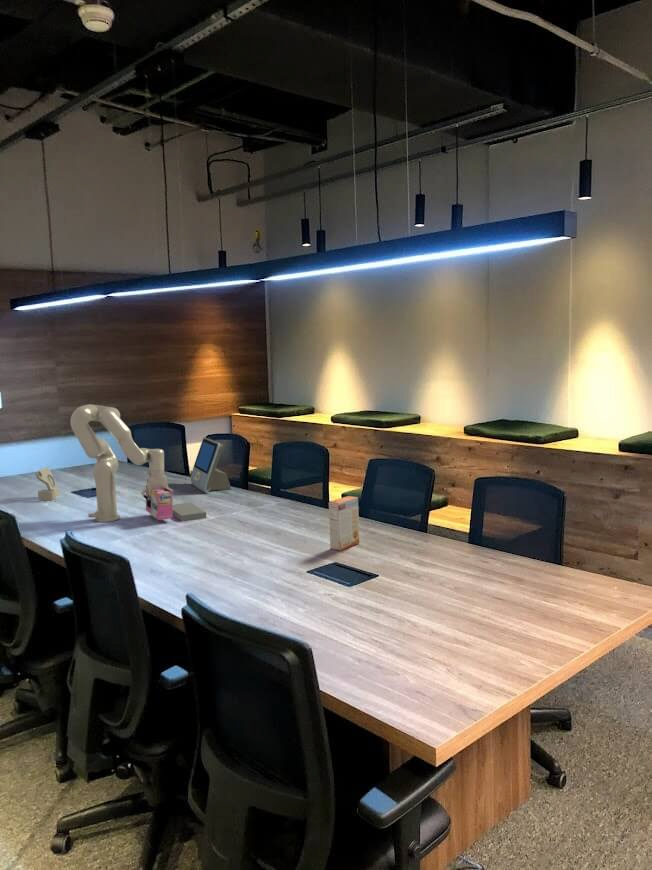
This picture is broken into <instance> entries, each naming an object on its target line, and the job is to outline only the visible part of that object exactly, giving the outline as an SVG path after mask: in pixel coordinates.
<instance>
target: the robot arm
mask: <svg viewBox="0 0 652 870" xmlns="http://www.w3.org/2000/svg"><path fill="white" fill-rule="evenodd" d="M91 421H92V422H99V423H101V425H103V427H104V428H105V429H106V430H107V431H108V432H109V434H111V436H112V437H113V438H114V439H115V440H116V441H117V444H118V445H119V448H120V449H121V451H122V452H123V453H124V455H125V456H126V457H127V458H128V459H129V461H130V462H131V463H132V464H134V465H136V466H142V465H144V464H146V463H148V465H149V467H148V468H149V470H148V471H146V475H148V476H147V481H146V485H147V488H146V487H145V488H144V489H143V490H142V491H141V492H140V495H142V497H143V498H144V499H145V500H146V499H147V506H148V507H149V508H151V501H150V496H151V489H152V490H166V489H168V490H170V491H171V492H172V494H173V493H174V489H173V488H171V487H169V485H168V479H167V478H168V477H167V475H166V474H165V451H164V449H161V448H146V447H139V446H138V445H137V444H136V443H135V441H134V439H133V436H132V431H131V429H130V428H129V426H127V425H126V423H125V422H124V421H123V420H122V418H121V413H120V411H119V410H118V408H116V407H112V406H106V405H97V404H91V403H89V404H85V405H84V404H83V405H81V406H78V407H77V408H76V409H75V410H74V411H73V412H72V415H71V416H70V427H71V430H72V432H73V433H74V435H75V436H76V438H77V440H78V442H79V444H80V446H81V448H82V450H83V451H84V453H85V455H86V456H87V457H88V458H90V459H94V460H95V459H96V463H94V466H93V475H94V482H95V493H96V507H97V510H96V511H95V512H93V513H88V514H87V515H88V518H94V520H95V522H100V523H106V522H107V523H108V522H109V523H110V522H115V521H119V520H120V519H121V515H120V514H118V508H117V507H118V506H117V504H118V503H117V491H116V481H115V476H114V474H115V473H116V472H117V471H118V470H119V467H120V466H119V461H118V459H117V457H116V455H115V453H114V452H113V449H112V448H111V446H110V445H109V443H108V441H106V440H105V439H103V438H102V437H97V435H96V434H95V432H94V430H93V429H92V427H91V426H90V425H89V423H90V422H91ZM146 492H147V494H148V495H147V496H146Z"/></svg>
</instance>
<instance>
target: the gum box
mask: <svg viewBox="0 0 652 870" xmlns="http://www.w3.org/2000/svg"><path fill="white" fill-rule="evenodd" d="M146 488H147V484H146V485H145V489H146ZM145 495H146V496H147V495H148V494H147V492H145ZM150 501H151V508H149V507H148V506H147V499H145V511H147V513H149V514H150V515H151V516H152V517H153V518H154V519H156V520H157V521H159V520H160V521H161V520H171V519H173V517H174V515H173V505H174V504H173V493H172V492H171V491H170V490H168V489H166V490H152V489H151V496H150Z"/></svg>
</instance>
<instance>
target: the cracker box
mask: <svg viewBox="0 0 652 870" xmlns="http://www.w3.org/2000/svg"><path fill="white" fill-rule="evenodd" d="M328 516H329V518H328V521H329V523H328V524H329V541H330V542H329V545H330V550H335V551H338V552H339V551H341V552H342V551H343V550H346V549H348V548H350V547H353V546H356V545H359V544H360V520H359V519H360V518H359V517H360V516H359V497H357V496H352V495H347V496H344V497H341V498H338V499H334V500H332V501H329V502H328Z"/></svg>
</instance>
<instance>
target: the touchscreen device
mask: <svg viewBox="0 0 652 870" xmlns="http://www.w3.org/2000/svg"><path fill="white" fill-rule="evenodd" d="M223 448H224V444H223V443H221V442H218V441H215V440H214V439H211V438H209V437H208V438H207V437H203V439H202V441H201V443H200V447H199V450H198V453H197V456H196V458H195V461H194V464H193V467H192V471H191V475H190V483H191V485H192V486H195V488H197V489H199V490H200V491H202V492H203V493H205V494H209V492H210V491H223V490H232V486H231V484H230V481H229V479H228V475H227V473H226V472H224V471H222V470H220V469H218V468H217V466H218V463H219V460H220V458H221V454H222V450H223Z"/></svg>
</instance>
